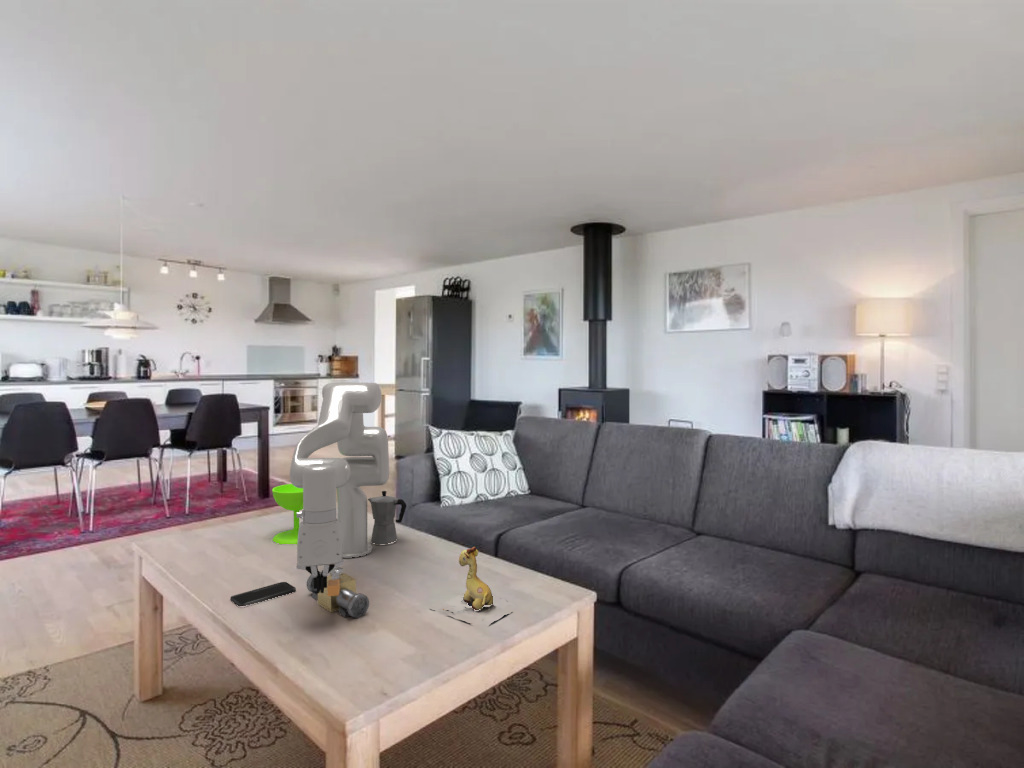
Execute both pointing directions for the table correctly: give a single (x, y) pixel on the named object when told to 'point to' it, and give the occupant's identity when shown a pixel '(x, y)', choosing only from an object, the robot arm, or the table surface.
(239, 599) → the phone
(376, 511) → the coffeepot
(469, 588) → the stuffed giraffe
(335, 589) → the valve lever
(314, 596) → the valve pipe
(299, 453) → the robot arm
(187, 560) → the table surface
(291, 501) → the wineglass
